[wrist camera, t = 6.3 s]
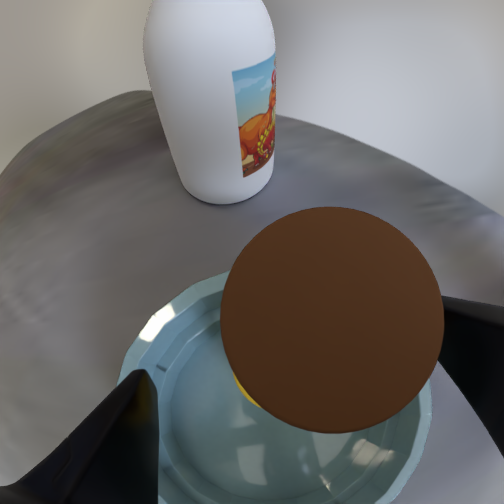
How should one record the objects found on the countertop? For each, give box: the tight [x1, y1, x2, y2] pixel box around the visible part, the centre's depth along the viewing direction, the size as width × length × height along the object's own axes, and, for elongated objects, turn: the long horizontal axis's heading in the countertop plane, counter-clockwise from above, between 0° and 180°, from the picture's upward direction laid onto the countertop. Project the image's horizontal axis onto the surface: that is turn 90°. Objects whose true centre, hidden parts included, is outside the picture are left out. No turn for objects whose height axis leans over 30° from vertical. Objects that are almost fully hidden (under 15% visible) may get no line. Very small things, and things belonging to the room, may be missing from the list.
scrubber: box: [220, 207, 444, 434], centre depth 9 cm, size 4×4×13 cm
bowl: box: [116, 271, 432, 504], centre depth 11 cm, size 15×15×5 cm
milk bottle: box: [143, 0, 276, 204], centre depth 13 cm, size 8×8×20 cm
